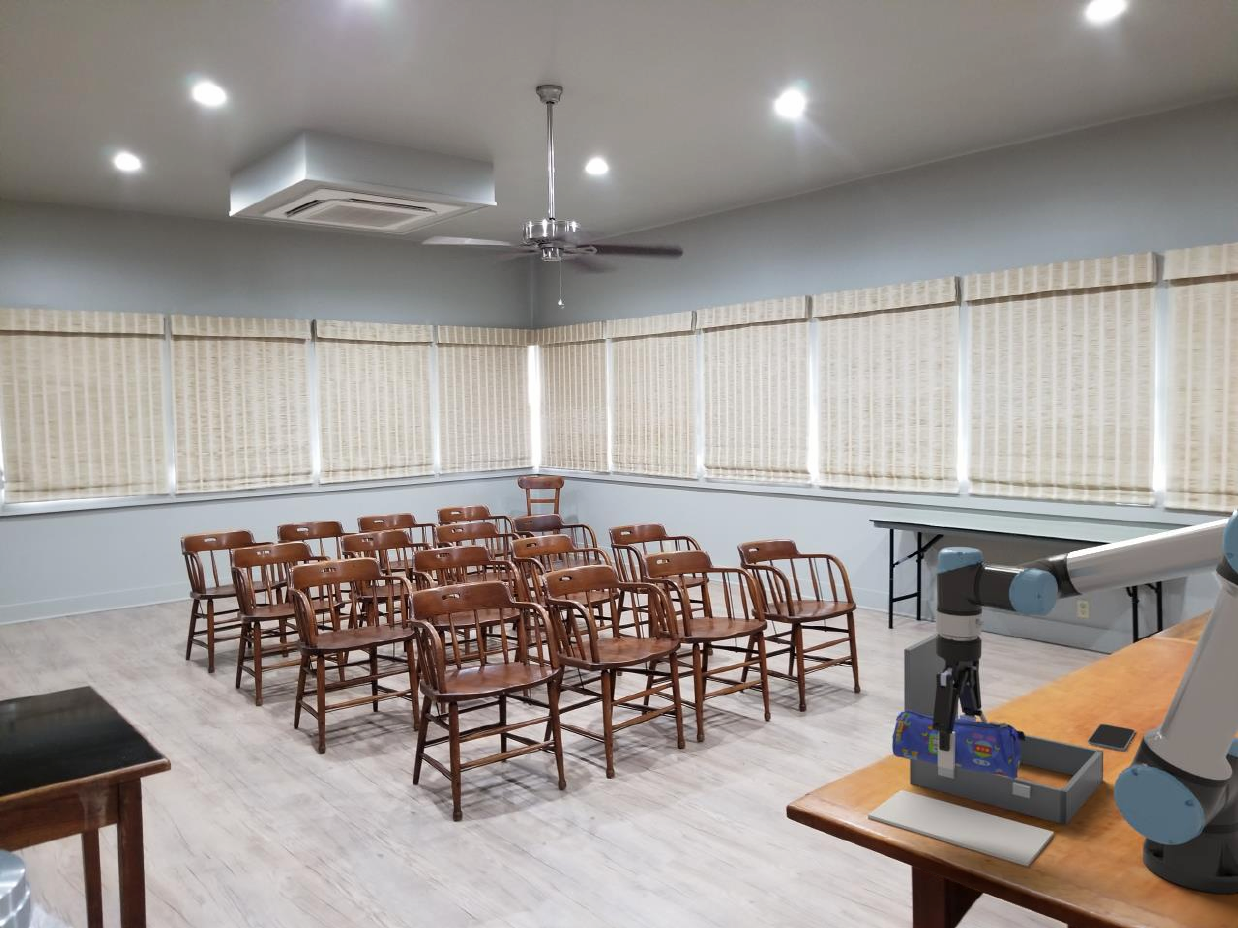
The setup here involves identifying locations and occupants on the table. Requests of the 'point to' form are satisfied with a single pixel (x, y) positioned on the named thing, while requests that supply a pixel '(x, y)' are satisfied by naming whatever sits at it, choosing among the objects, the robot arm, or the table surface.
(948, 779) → the case
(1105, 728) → the smartphone
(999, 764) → the pencil case
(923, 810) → the grey mat
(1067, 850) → the table surface
